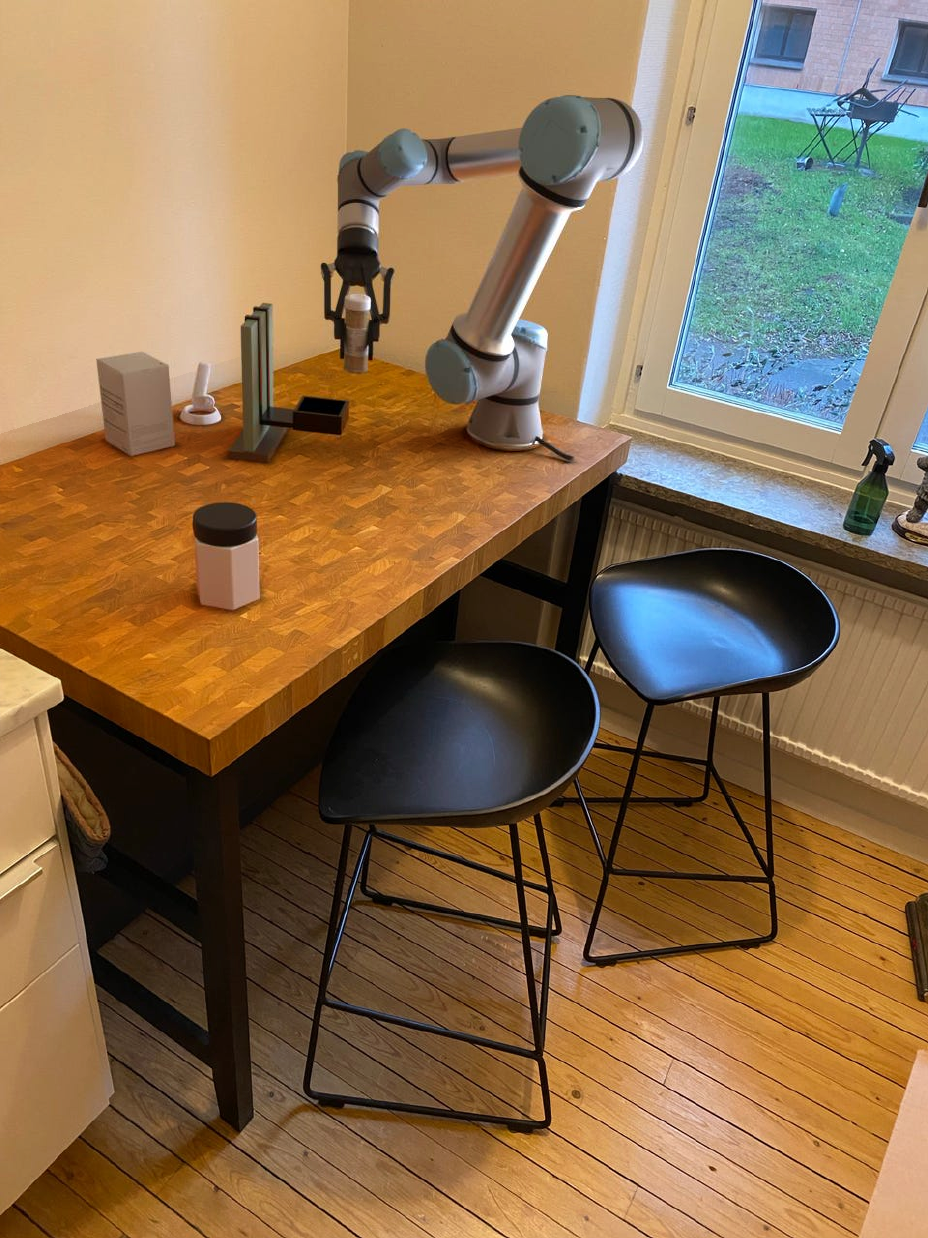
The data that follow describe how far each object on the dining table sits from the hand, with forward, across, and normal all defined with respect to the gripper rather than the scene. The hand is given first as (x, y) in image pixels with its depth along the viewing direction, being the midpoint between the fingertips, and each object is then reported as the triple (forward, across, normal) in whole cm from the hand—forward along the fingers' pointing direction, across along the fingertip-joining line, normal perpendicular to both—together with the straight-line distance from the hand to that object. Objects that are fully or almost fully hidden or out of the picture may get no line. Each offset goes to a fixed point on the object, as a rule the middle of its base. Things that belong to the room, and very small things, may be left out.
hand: (356, 355), depth 168 cm
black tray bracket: (+10, +10, -7) cm, 16 cm away
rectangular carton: (+15, +38, -9) cm, 42 cm away
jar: (+50, +18, +29) cm, 60 cm away
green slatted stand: (+13, +17, -11) cm, 24 cm away
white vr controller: (+6, +29, -19) cm, 35 cm away
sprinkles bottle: (0, 0, -6) cm, 6 cm away
